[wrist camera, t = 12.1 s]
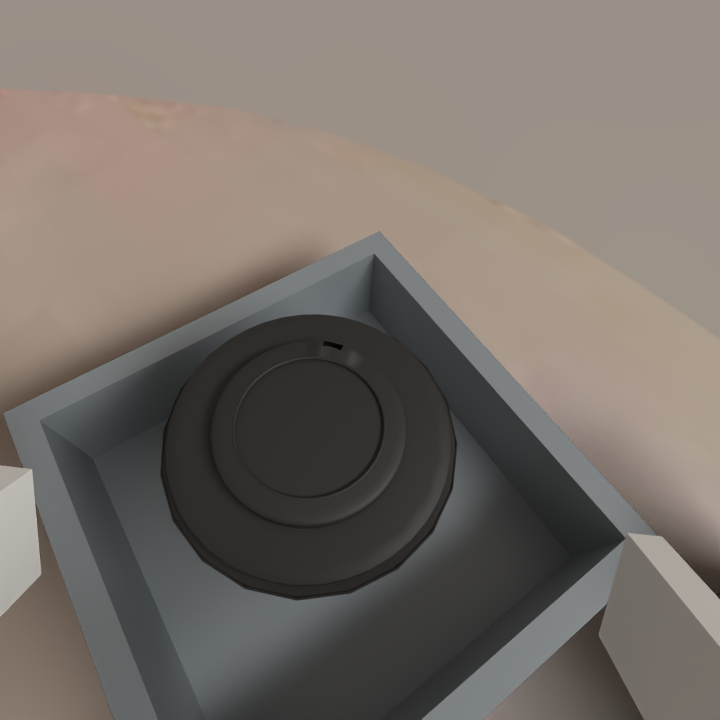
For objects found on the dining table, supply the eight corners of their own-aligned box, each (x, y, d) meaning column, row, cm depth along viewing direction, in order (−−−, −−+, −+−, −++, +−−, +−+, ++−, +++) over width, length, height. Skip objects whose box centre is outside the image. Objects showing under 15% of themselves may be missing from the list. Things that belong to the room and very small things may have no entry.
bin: (73, 459, 23) (2, 413, 18) (372, 300, 28) (379, 231, 23) (245, 874, 16) (206, 975, 11) (594, 566, 21) (668, 546, 17)
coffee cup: (381, 402, 24) (408, 269, 15) (440, 578, 20) (522, 536, 11) (212, 444, 22) (133, 324, 14) (241, 641, 19) (159, 650, 10)
